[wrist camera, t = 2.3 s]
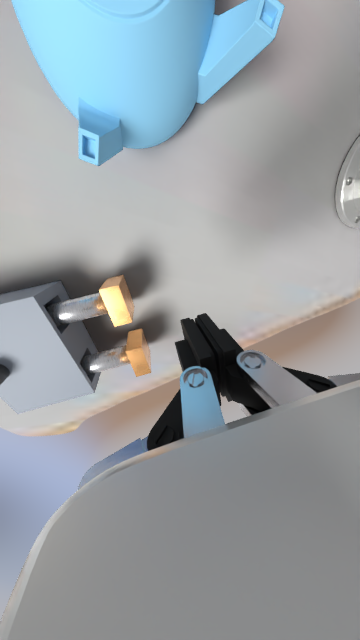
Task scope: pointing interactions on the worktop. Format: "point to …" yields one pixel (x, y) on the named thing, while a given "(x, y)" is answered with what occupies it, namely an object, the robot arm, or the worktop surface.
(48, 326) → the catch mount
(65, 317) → the knob
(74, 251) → the worktop surface
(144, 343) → the knob
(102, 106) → the teapot
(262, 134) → the worktop surface
